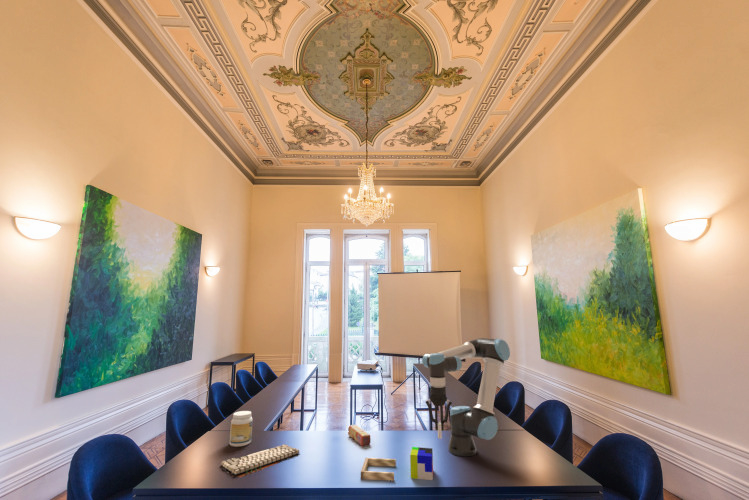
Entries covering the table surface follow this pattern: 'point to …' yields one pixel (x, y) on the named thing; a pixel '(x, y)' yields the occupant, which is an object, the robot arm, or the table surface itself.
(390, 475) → the wooden open frame
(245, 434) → the supplement tub
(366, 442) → the snack package
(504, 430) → the table surface
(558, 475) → the table surface
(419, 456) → the puzzle toy
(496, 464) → the table surface
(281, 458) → the mechanical keyboard
